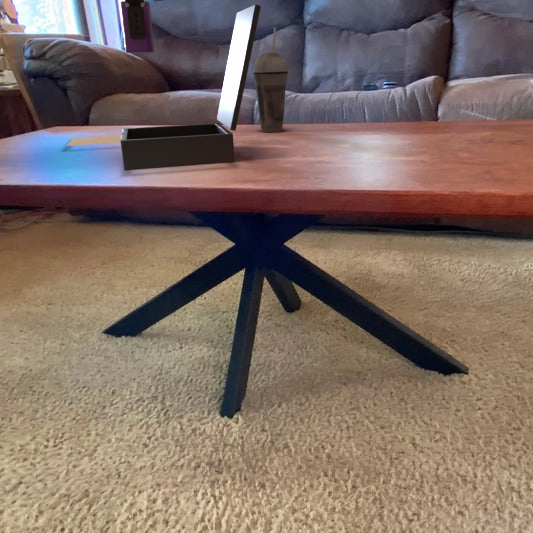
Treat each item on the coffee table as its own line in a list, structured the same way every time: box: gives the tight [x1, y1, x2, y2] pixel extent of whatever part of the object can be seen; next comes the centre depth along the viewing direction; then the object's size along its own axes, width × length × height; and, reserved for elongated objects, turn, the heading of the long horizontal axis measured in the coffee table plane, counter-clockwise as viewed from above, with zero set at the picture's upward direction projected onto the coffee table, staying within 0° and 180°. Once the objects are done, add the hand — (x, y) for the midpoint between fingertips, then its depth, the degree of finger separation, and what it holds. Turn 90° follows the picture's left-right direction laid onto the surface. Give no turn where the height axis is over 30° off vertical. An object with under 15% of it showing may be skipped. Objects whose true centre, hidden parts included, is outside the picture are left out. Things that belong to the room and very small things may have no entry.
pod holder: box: [120, 122, 235, 171], centre depth 78 cm, size 16×14×5 cm
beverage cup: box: [252, 26, 289, 133], centre depth 105 cm, size 7×7×20 cm
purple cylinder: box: [119, 0, 155, 54], centre depth 72 cm, size 4×4×6 cm
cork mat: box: [66, 134, 122, 147], centre depth 100 cm, size 14×14×1 cm
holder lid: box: [216, 3, 262, 132], centre depth 76 cm, size 16×14×1 cm
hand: (138, 39), depth 73 cm, fingers closed on purple cylinder, 4 cm apart
